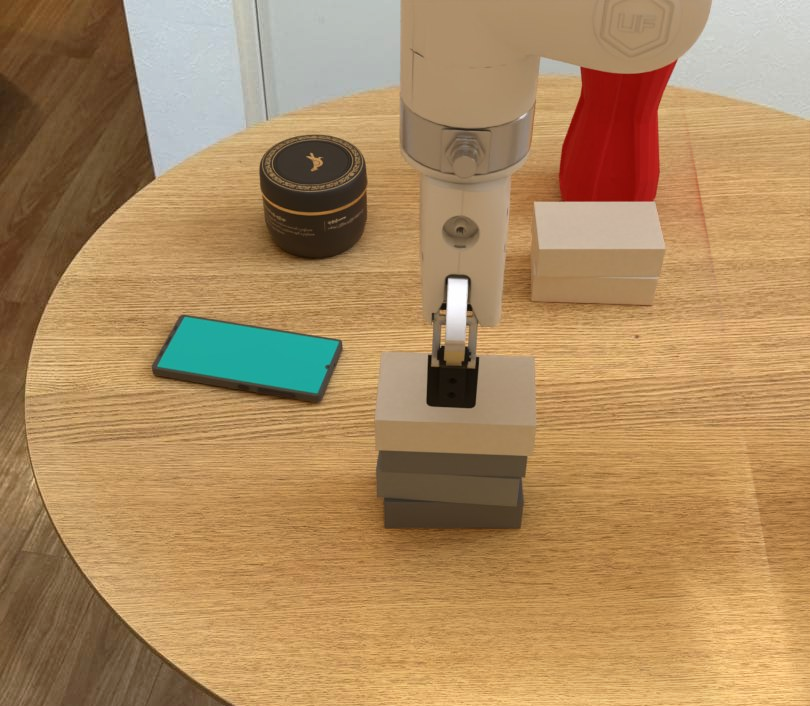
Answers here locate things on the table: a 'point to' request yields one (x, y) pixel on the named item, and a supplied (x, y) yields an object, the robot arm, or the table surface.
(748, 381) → the table surface
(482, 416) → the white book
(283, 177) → the jar
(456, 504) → the grey pile
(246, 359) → the smartphone
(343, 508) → the table surface
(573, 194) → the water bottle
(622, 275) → the white pile
